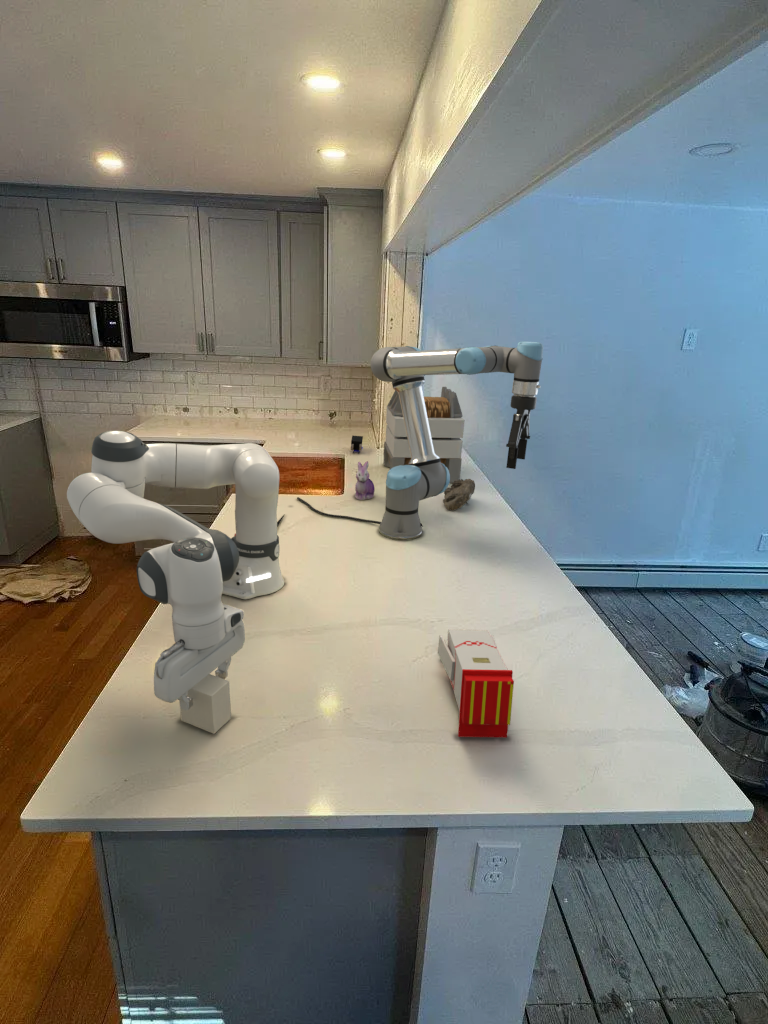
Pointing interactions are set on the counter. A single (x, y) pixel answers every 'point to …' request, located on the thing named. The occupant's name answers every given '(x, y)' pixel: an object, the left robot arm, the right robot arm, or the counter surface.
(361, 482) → the figurine
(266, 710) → the counter surface
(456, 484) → the fossil
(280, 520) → the feather
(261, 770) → the counter surface
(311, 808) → the counter surface
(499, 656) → the toy
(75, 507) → the left robot arm
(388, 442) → the slatted wooden crate
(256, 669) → the counter surface
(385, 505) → the right robot arm
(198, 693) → the block
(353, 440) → the figurine character
